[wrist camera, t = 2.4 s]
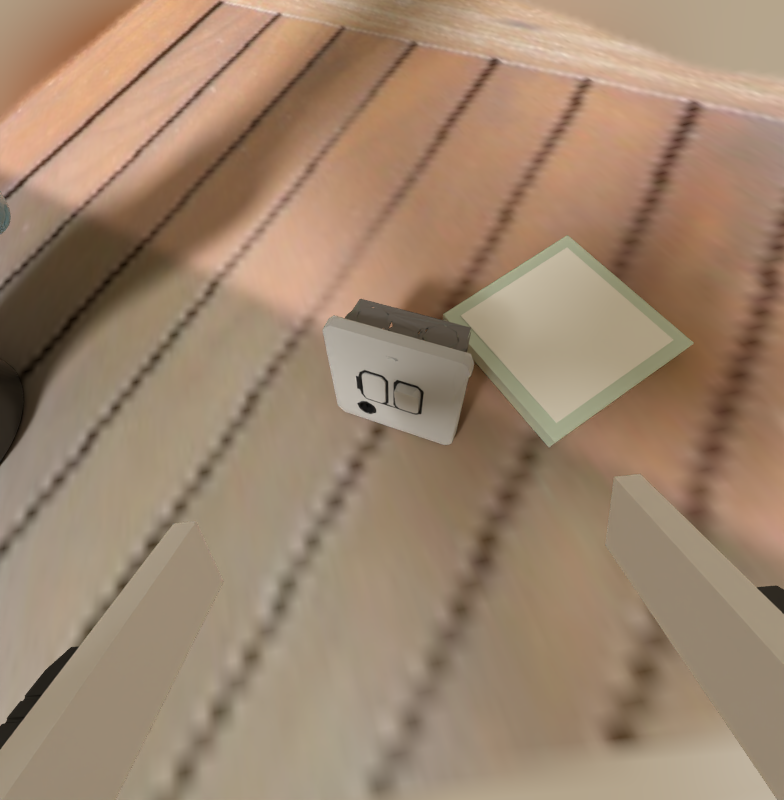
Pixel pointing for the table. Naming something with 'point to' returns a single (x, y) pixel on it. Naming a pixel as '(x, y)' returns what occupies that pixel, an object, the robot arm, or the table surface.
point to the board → (564, 338)
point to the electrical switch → (400, 368)
